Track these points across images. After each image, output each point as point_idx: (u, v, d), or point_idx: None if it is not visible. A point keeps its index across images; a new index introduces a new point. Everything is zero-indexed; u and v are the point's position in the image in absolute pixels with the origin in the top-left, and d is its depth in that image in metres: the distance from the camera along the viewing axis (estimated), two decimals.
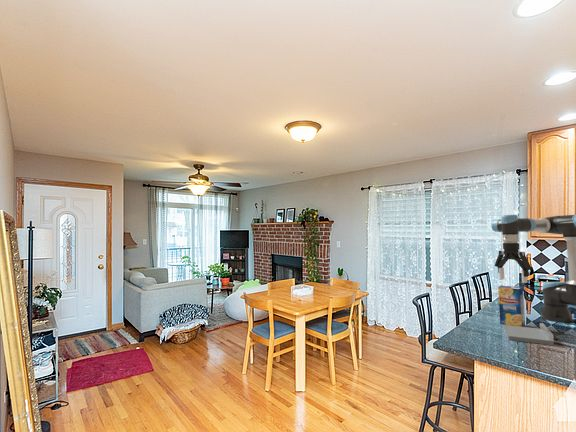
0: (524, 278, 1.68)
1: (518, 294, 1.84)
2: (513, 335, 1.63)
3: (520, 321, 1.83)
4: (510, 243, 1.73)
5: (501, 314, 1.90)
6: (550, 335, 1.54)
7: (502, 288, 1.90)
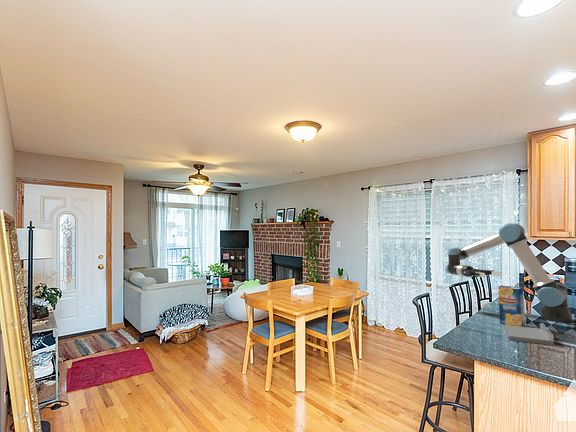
0: (480, 275, 2.02)
1: (518, 294, 1.84)
2: (513, 335, 1.63)
3: (520, 321, 1.83)
4: (463, 275, 2.20)
5: (501, 314, 1.90)
6: (550, 335, 1.54)
7: (502, 288, 1.90)
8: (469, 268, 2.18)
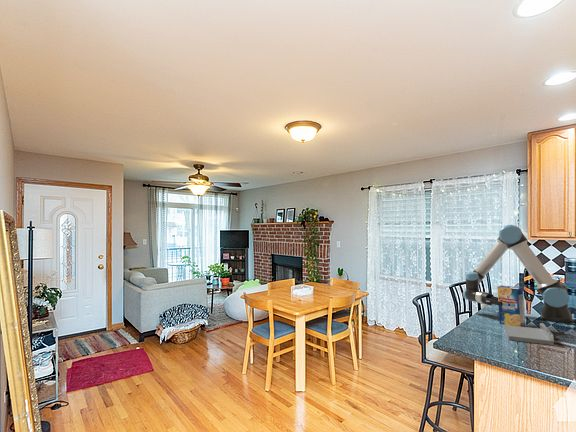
0: None
1: (516, 294, 1.84)
2: (513, 335, 1.63)
3: (519, 321, 1.83)
4: (483, 303, 2.06)
5: (500, 314, 1.91)
6: (550, 335, 1.54)
7: (501, 288, 1.91)
8: (489, 295, 2.03)
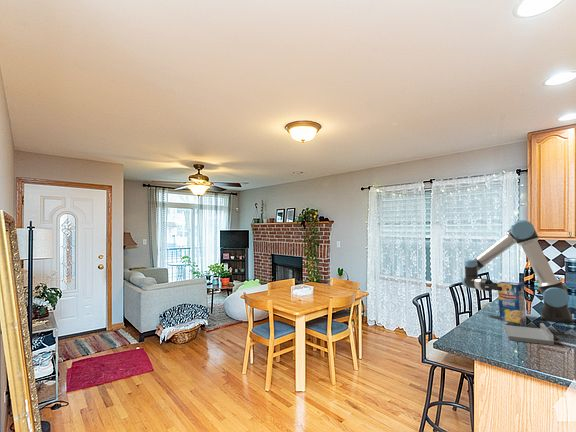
0: None
1: (516, 290, 1.84)
2: (513, 335, 1.63)
3: (519, 317, 1.83)
4: (482, 289, 2.06)
5: (501, 310, 1.91)
6: (550, 335, 1.54)
7: (501, 284, 1.91)
8: (488, 281, 2.04)
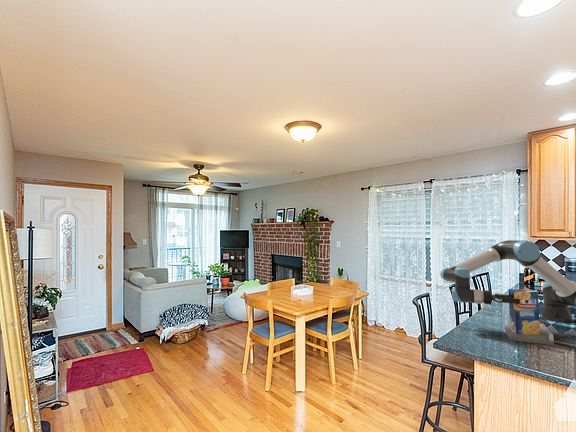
0: None
1: (536, 298, 1.64)
2: (513, 335, 1.63)
3: (538, 328, 1.63)
4: (484, 303, 1.75)
5: (517, 322, 1.65)
6: (550, 335, 1.54)
7: (518, 292, 1.66)
8: None
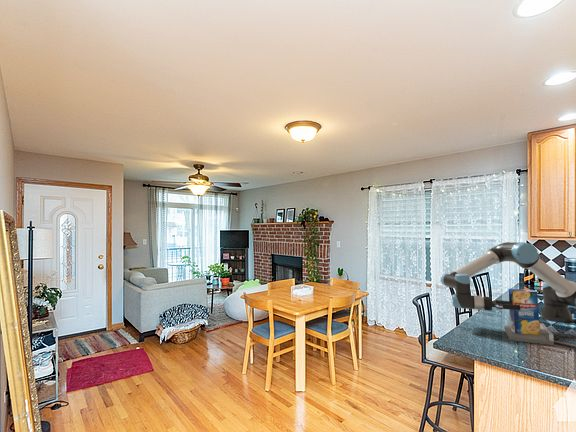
0: None
1: (536, 297, 1.64)
2: (513, 335, 1.63)
3: (538, 328, 1.63)
4: (485, 309, 1.75)
5: (516, 322, 1.66)
6: (550, 335, 1.54)
7: (517, 292, 1.67)
8: (491, 299, 1.75)
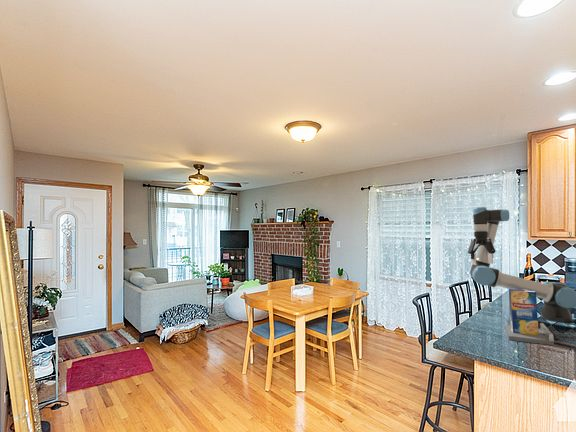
0: (472, 260, 2.03)
1: (534, 298, 1.64)
2: (513, 335, 1.63)
3: (537, 328, 1.63)
4: (474, 232, 2.08)
5: (514, 322, 1.67)
6: (550, 335, 1.54)
7: (515, 292, 1.68)
8: (483, 237, 2.03)
